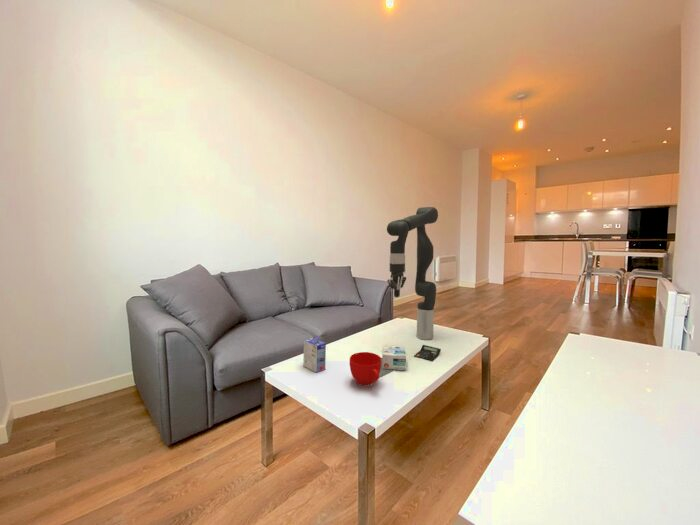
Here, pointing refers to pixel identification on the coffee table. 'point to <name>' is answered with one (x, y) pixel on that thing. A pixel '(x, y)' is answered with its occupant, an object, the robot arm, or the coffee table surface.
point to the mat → (384, 370)
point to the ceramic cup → (365, 367)
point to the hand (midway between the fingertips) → (396, 296)
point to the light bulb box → (394, 358)
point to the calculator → (428, 353)
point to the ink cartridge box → (314, 354)
